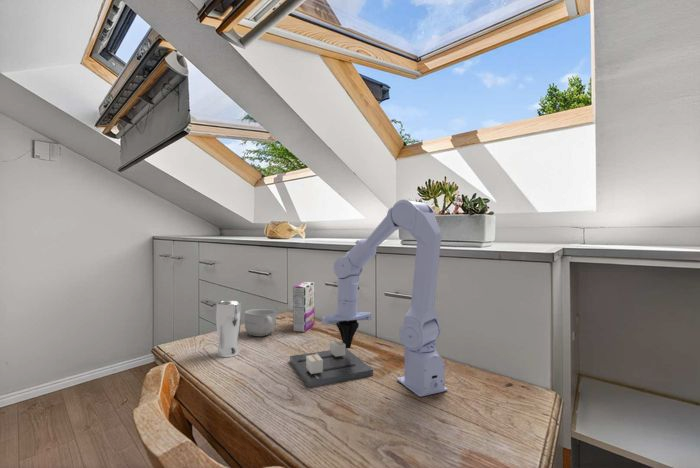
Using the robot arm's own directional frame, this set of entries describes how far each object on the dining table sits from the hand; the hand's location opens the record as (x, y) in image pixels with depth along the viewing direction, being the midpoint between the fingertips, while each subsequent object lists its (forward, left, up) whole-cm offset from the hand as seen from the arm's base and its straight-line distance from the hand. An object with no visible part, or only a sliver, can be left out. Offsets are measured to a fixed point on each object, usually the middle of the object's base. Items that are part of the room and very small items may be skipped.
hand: (346, 347), depth 96 cm
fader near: (-8, +12, -1) cm, 15 cm away
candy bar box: (+34, +2, -4) cm, 34 cm away
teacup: (+31, +18, -4) cm, 36 cm away
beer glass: (+17, +30, -4) cm, 35 cm away
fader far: (0, +3, -1) cm, 3 cm away
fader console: (-4, +7, -3) cm, 9 cm away
